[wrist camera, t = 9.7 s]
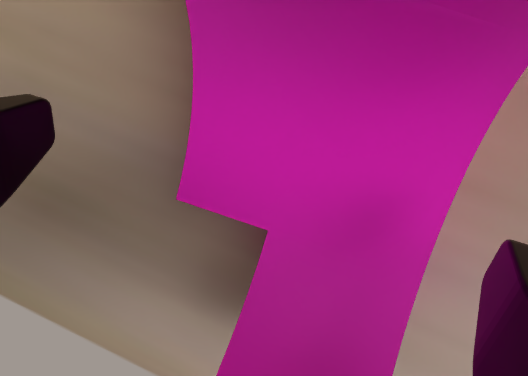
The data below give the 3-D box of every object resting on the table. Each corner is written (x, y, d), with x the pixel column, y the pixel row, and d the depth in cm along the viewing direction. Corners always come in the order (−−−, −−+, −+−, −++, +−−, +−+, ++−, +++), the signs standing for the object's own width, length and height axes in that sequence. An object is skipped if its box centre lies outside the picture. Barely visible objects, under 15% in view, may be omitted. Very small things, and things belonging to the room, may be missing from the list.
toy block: (282, -337, 9) (-56, -718, 3) (644, -299, 8) (1175, -784, 2) (216, 246, 18) (94, 435, 12) (383, 305, 17) (339, 547, 11)
